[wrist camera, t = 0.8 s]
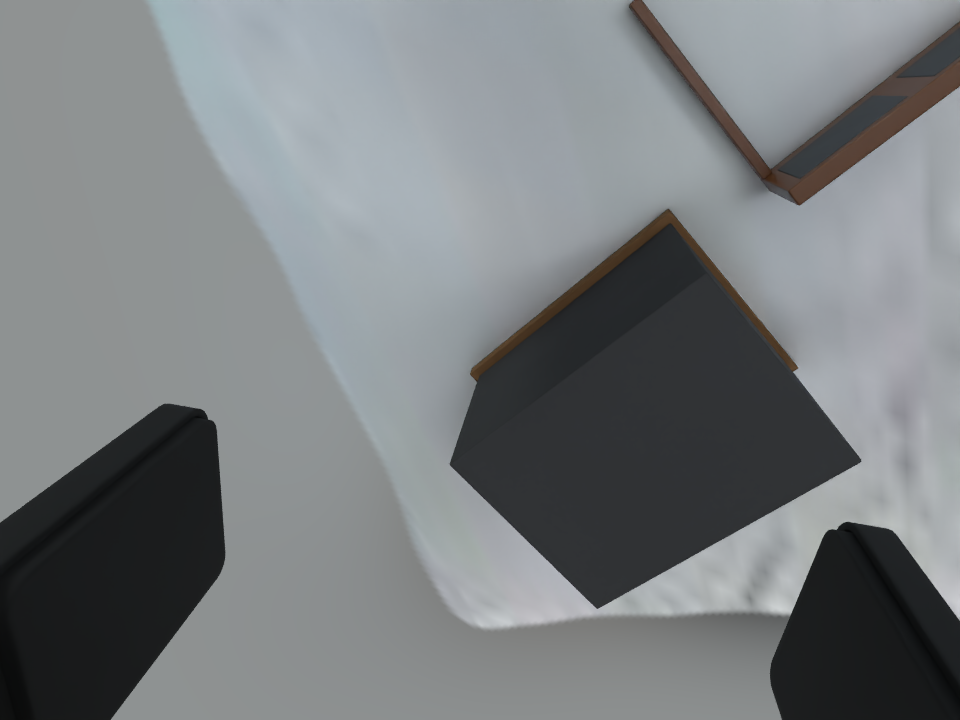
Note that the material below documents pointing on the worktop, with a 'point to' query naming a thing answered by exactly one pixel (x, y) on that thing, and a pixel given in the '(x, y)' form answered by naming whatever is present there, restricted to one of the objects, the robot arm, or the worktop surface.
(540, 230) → the worktop surface
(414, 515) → the worktop surface
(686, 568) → the worktop surface
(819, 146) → the brown angular bar frame
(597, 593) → the wood-trimmed dark box
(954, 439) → the worktop surface
